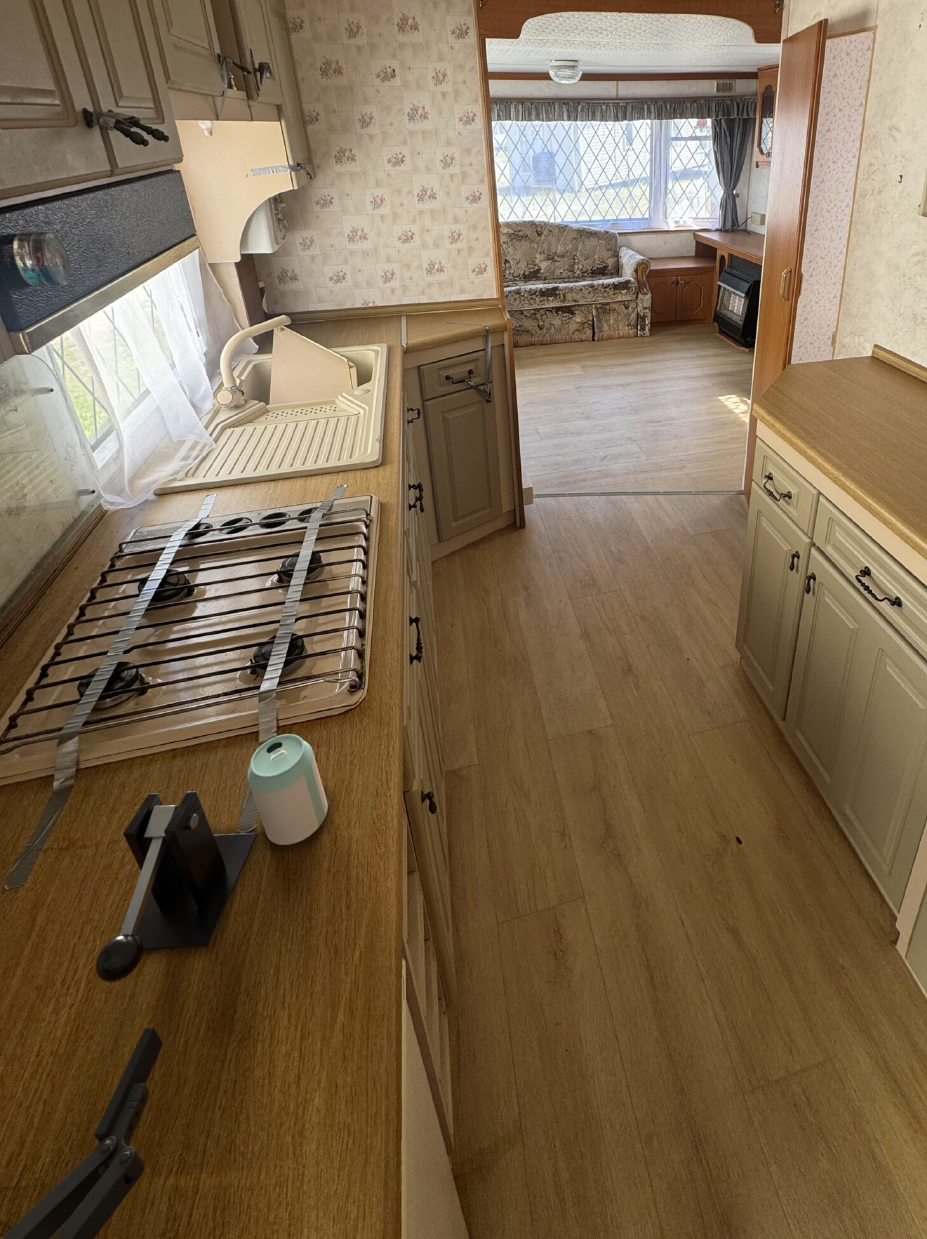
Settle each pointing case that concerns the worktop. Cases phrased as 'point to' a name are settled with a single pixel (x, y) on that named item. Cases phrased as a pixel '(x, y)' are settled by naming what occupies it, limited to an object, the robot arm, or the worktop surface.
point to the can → (287, 789)
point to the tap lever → (136, 906)
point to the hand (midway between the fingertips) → (72, 1040)
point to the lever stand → (186, 874)
